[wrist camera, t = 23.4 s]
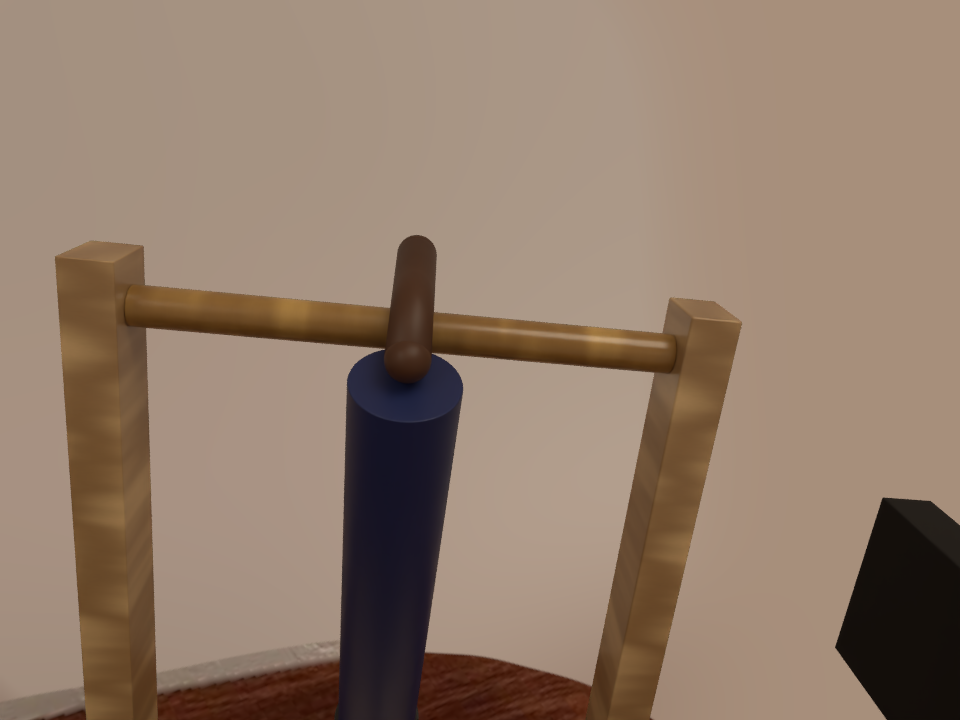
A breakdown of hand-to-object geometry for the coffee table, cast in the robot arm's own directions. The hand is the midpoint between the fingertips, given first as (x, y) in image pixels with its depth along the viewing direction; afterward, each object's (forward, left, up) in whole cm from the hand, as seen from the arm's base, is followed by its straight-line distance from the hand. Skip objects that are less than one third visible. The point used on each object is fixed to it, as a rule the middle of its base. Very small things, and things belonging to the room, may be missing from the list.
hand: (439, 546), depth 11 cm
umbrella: (+18, -18, -25) cm, 36 cm away
